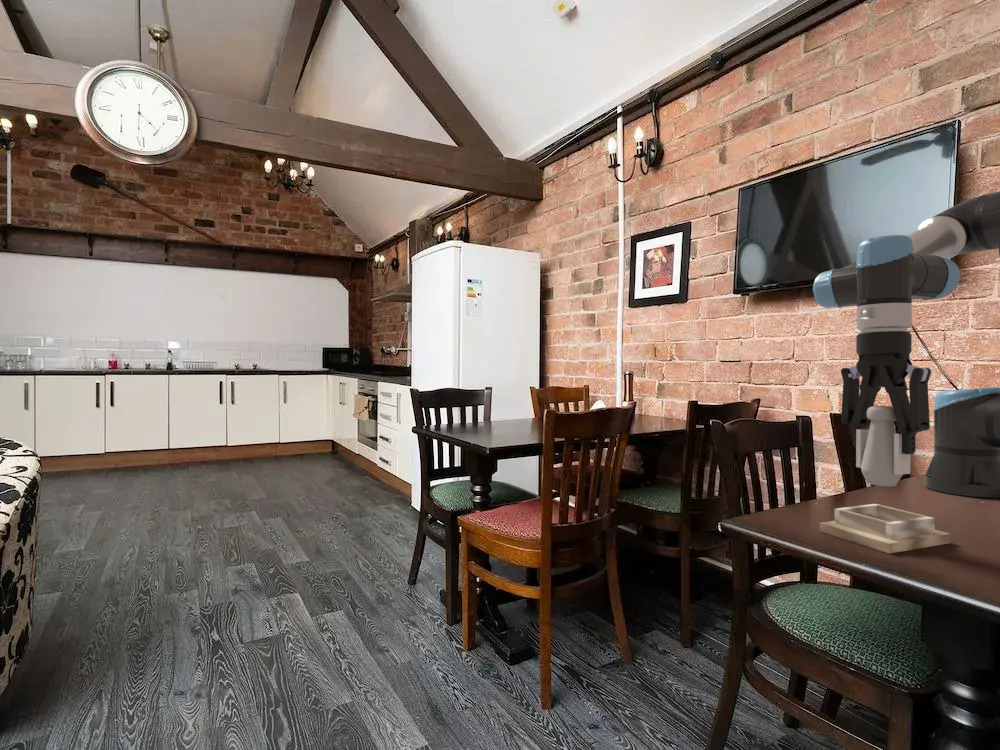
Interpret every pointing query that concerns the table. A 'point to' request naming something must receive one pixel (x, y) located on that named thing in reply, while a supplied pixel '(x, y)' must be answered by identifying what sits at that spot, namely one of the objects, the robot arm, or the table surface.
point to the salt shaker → (880, 448)
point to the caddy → (885, 528)
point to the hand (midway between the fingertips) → (882, 469)
